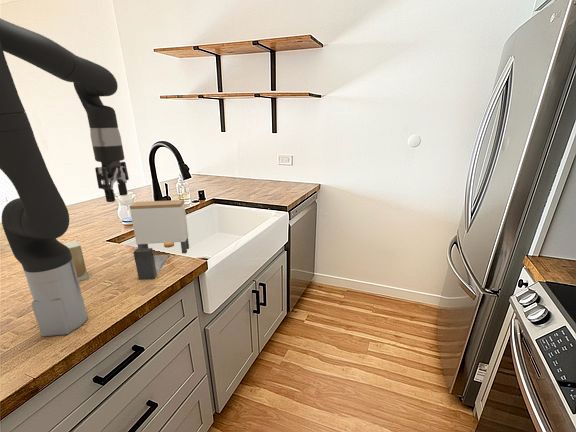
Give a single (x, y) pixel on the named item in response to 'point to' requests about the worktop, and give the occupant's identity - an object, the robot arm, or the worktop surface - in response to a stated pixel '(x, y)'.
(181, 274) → the worktop surface
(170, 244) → the token
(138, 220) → the cabinet
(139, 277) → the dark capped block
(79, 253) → the skincare box
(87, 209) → the worktop surface
